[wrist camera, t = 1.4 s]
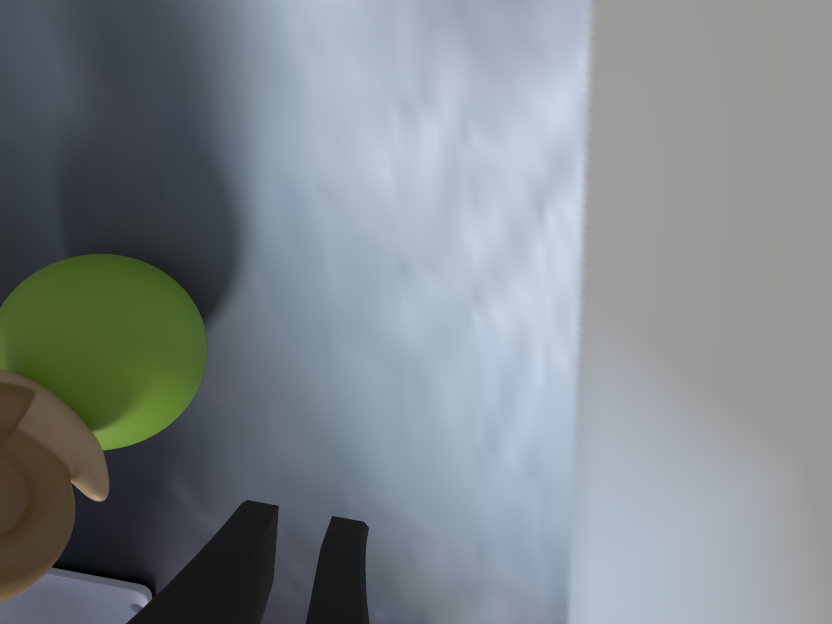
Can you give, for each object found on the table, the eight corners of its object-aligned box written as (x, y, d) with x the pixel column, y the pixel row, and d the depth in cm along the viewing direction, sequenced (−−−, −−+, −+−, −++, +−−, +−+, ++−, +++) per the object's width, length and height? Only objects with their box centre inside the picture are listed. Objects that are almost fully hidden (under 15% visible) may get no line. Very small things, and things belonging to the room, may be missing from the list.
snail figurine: (106, 165, 18) (-476, 399, 7) (269, 319, 19) (5, 700, 9) (10, 277, 20) (-561, 596, 9) (166, 409, 21) (-154, 810, 11)
